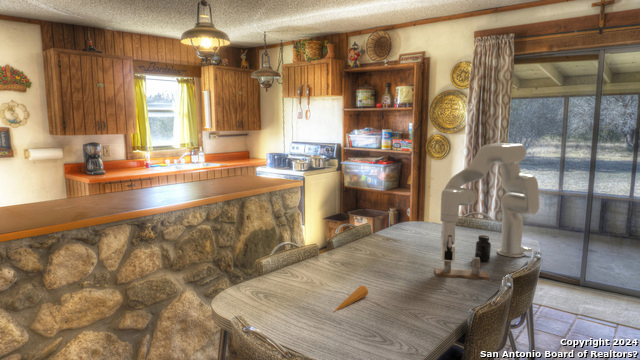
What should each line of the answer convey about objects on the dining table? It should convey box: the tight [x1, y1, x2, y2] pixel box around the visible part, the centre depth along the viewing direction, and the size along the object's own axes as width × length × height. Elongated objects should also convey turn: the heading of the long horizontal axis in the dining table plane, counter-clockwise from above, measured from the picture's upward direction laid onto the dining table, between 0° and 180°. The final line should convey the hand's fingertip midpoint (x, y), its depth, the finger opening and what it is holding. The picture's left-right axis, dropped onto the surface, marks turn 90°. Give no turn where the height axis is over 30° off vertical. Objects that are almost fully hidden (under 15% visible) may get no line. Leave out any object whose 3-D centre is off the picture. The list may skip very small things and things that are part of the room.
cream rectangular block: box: [440, 242, 456, 263], centre depth 180 cm, size 5×5×7 cm
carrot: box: [334, 285, 369, 312], centre depth 151 cm, size 20×4×4 cm, turn 139°
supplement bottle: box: [474, 234, 492, 263], centre depth 199 cm, size 7×7×12 cm
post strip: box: [434, 256, 490, 280], centre depth 180 cm, size 22×7×8 cm, turn 79°
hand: (447, 257), depth 180 cm, fingers closed on cream rectangular block, 5 cm apart
